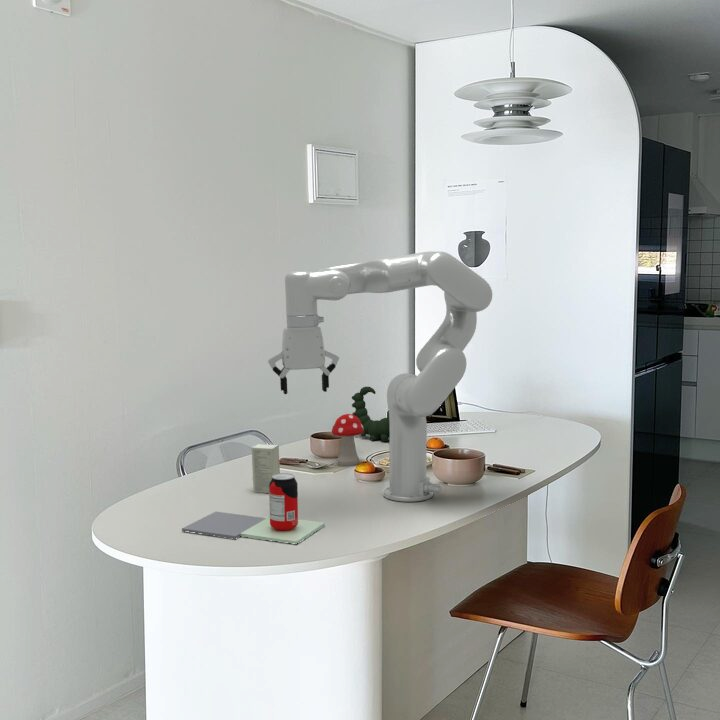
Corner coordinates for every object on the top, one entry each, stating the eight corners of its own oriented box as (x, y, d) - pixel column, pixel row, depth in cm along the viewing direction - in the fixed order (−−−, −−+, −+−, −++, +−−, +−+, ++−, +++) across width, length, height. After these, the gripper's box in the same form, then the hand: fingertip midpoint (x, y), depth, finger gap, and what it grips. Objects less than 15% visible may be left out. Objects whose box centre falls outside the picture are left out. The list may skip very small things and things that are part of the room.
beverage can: (303, 528, 196) (302, 476, 195) (278, 534, 193) (278, 481, 191) (288, 521, 202) (288, 471, 200) (264, 526, 198) (263, 475, 196)
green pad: (324, 526, 201) (324, 522, 201) (296, 545, 188) (296, 541, 188) (271, 519, 206) (271, 515, 206) (240, 536, 193) (240, 533, 193)
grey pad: (266, 521, 204) (266, 518, 204) (235, 539, 192) (235, 536, 192) (215, 514, 210) (215, 511, 210) (182, 531, 197) (181, 528, 197)
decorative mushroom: (341, 469, 253) (340, 418, 251) (326, 463, 260) (325, 413, 258) (370, 464, 258) (369, 414, 256) (354, 458, 266) (354, 410, 264)
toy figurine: (350, 444, 293) (416, 446, 280) (345, 388, 291) (412, 387, 278) (364, 439, 301) (429, 440, 288) (360, 384, 299) (425, 383, 286)
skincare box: (280, 489, 232) (280, 444, 230) (273, 494, 227) (273, 448, 226) (259, 487, 234) (258, 443, 232) (251, 492, 229) (251, 446, 228)
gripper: (335, 319, 217) (337, 387, 219) (265, 322, 214) (268, 391, 216) (340, 322, 209) (342, 392, 212) (267, 325, 206) (270, 396, 208)
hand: (305, 392), depth 214 cm, fingers open, 9 cm apart
